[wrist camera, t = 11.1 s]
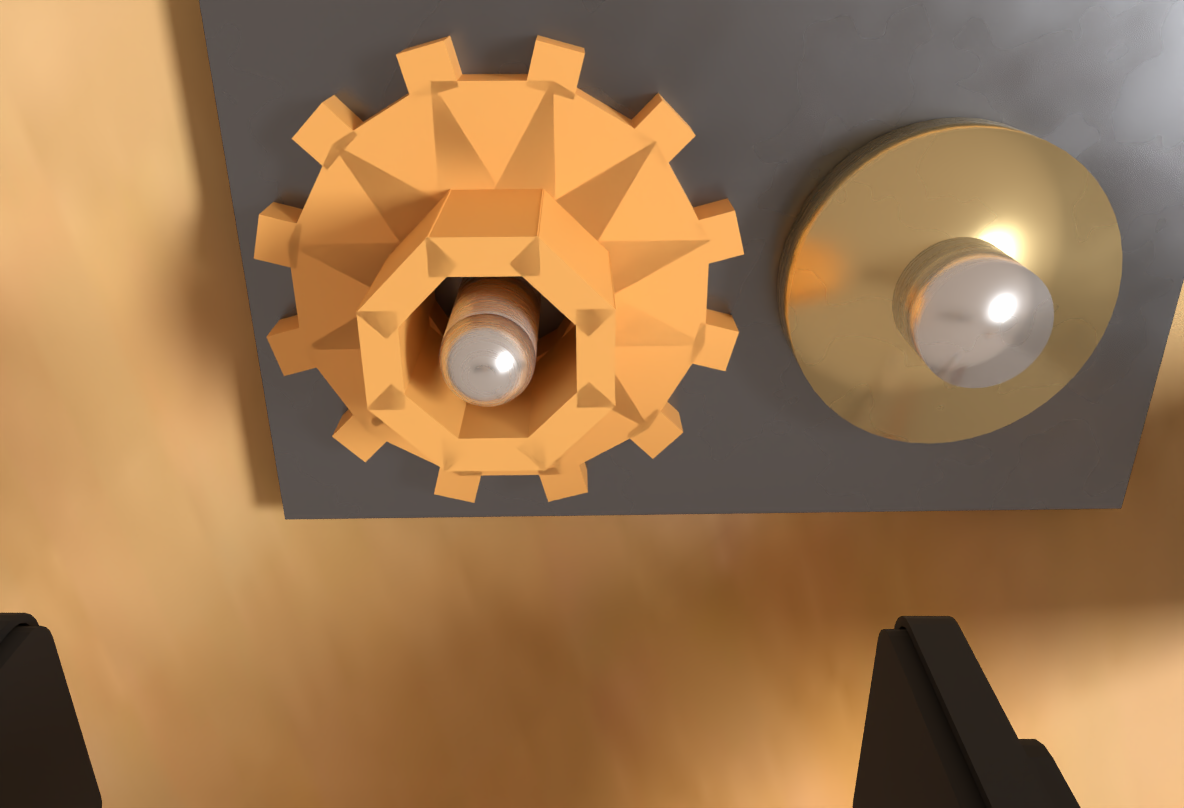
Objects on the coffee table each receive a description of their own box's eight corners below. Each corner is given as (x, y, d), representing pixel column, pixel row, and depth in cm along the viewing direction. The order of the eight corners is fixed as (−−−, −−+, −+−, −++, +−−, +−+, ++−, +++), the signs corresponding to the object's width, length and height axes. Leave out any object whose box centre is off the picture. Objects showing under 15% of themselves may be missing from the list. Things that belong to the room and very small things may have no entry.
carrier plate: (1233, -25, 23) (1495, -11, 16) (1100, 487, 29) (1253, 645, 22) (214, -19, 22) (68, -3, 16) (296, 497, 29) (214, 660, 22)
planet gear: (749, 34, 22) (797, 59, 17) (721, 477, 27) (752, 589, 22) (236, 36, 22) (144, 62, 17) (304, 482, 27) (248, 596, 22)
